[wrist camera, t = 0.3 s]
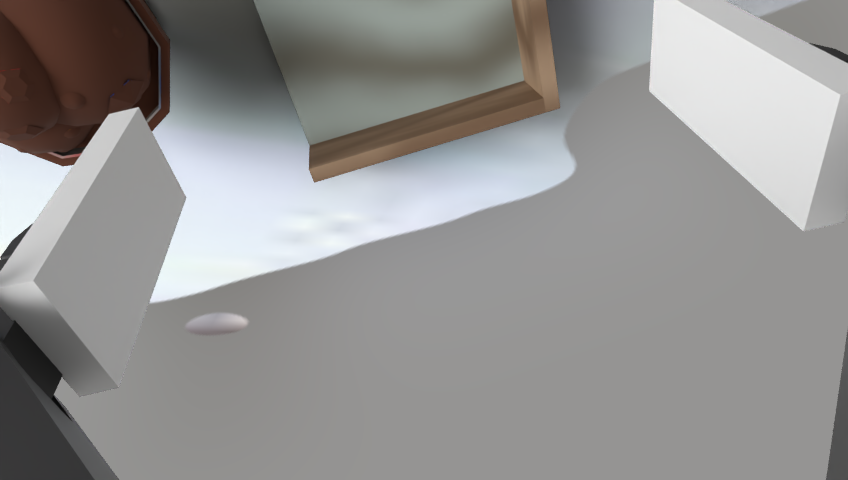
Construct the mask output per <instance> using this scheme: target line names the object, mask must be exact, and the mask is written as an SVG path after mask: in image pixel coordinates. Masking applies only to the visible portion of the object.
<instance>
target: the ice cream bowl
mask: <svg viewBox="0 0 848 480" xmlns="http://www.w3.org/2000/svg"><path fill="white" fill-rule="evenodd" d="M137 107H139V109H140V110H141V112H142V114H143V116H144V118H145V120H146V122H147V124H148V126H149V128H150V130H151V131H153V130H154V128H155V127H156V126H157V125H158V124H159V123H160V122H161V121H162V120H163V119H164V118H165V117H166V115H167V114H168V113H169V111H170V39H169V38H168V36H167V35H166V33H165V32H164V30H163V29H162V28H161V26H160V25H159V23H158V22H157V20H156V17H155V16H154V14H153V13H152V12H151V10H150V9H149V7H148V6H147V4H146V3H145V1H144V0H0V143H3V144H5V145H8V146H11V147H13V148H15V149H17V150H18V151H20V152H24V153H29V154H32V155H35V156H37V157H40V158H42V159H45V160H48V161H50V162H53V163H56V164H58V165H61V166H68V165H74V164H75V162H76V161H77V160H78V158H79V157H80V155H81V154H82V152H83V151H84V149H85V148H86V146H87V145H88V144H89V142H90V141H91V139H92V138H93V136H94V135H95V133H96V132H97V131H98V129H99V128H100V126H101V125H102V123H103V122H104V120H105V119H106V118H107V116H108V115H109V114H111V113H116V112H120V111H124V110H129V109H133V108H137Z"/></svg>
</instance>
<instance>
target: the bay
mask: <svg viewBox="0 0 848 480" xmlns="http://www.w3.org/2000/svg"><path fill="white" fill-rule="evenodd" d="M253 1H254V3H255V6H256V8H257V11H258V14H259V16H260V19H261V21H262V24H263V27H264V29H265V32H266V34H267V37H268V39H269V42H270V45H271V47H272V50H273V52H274V55H275V58H276V60H277V63H278V65H279V68H280V70H281V73H282V76H283V78H284V81H285V83H286V86H287V89H288V91H289V94H290V96H291V99H292V101H293V104H294V107H295V109H296V112H297V114H298V117H299V120H300V122H301V125H302V127H303V130H304V132H305V135H306V138H307V140H308V143H309V145H310V149H309V171H310V173H311V176H312V178H313V181H314V182H318V181H321V180H324V179H328V178H331V177H334V176H337V175H341V174H344V173H347V172H351V171H354V170H357V169H361V168H364V167H367V166H370V165H374V164H377V163H380V162H384V161H387V160H390V159H394V158H397V157H400V156H403V155H407V154H410V153H413V152H417V151H420V150H423V149H427V148H430V147H433V146H436V145H440V144H443V143H446V142H450V141H453V140H456V139H460V138H463V137H466V136H469V135H473V134H476V133H479V132H483V131H486V130H489V129H493V128H496V127H499V126H502V125H506V124H509V123H512V122H516V121H519V120H522V119H525V118H529V117H532V116H535V115H539V114H542V113H545V112H549V111H552V110H555V109H558V108H560V103H559V95H558V87H557V80H556V72H555V65H554V57H553V50H552V42H551V35H550V27H549V20H548V12H547V4H546V0H253Z"/></svg>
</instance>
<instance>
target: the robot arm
mask: <svg viewBox="0 0 848 480" xmlns="http://www.w3.org/2000/svg"><path fill="white" fill-rule="evenodd" d="M649 91H650V92H651V93H652V94H653V95H654V96H655V97H657V98H658V99H659V100H660V101H661V102H662V103H663V104H664V105H665V106H666V107H667V108H669V109H670V110H671V111H672V112H673V113H674V114H675V115H676V116H677V117H678V118H680V119H681V120H682V121H683V122H684V123H685V124H686V125H687V126H688V127H689V128H691V129H692V130H693V131H694V132H695V133H696V134H697V135H698V136H699V137H700V138H702V139H703V140H704V141H705V142H706V143H707V144H708V145H709V146H710V147H711V148H713V149H714V150H715V151H716V152H717V153H718V154H719V155H720V156H721V157H722V158H723V159H725V160H726V161H727V162H728V163H729V164H730V165H731V166H732V167H734V169H736V170H737V171H738V172H739V173H740V174H741V175H742V176H743V177H744V178H746V179H747V180H748V181H749V182H750V183H751V184H752V185H753V186H754V187H755V188H756V189H758V190H759V191H760V192H761V193H762V194H763V195H764V196H765V197H766V198H767V199H769V200H770V201H771V202H772V203H773V204H774V205H775V206H776V207H777V208H778V209H780V210H781V211H782V212H783V213H784V214H785V215H786V216H787V217H788V218H789V219H791V220H792V221H793V222H794V223H795V224H796V225H797V226H798V227H799V228H801V230H803V231H808V230H813V229H817V228H821V227H826V226H830V225H835V224H839V223H843V222H844V221H845V218H846V215H847V211H848V55H846V54H844V53H842V52H840V51H838V50H836V49H833V48H829V47H824V46H820V45H815V44H811V43H807V42H804V41H803V40H801V39H799V38H797V37H795V36H793V35H791V34H789V33H787V32H785V31H783V30H781V29H779V28H777V27H775V26H774V25H772V24H770V23H768V22H765V21H764V20H762V19H760V18H758V17H756V16H754V15H752V14H750V13H748V12H746V11H744V10H742V9H740V8H738V7H736V6H734V5H732V4H730V3H729V2H727V1H725V0H654V13H653V31H652V49H651V68H650V86H649ZM185 200H186V196H185V194H184V192H183V191H182V189H181V187H180V185H179V183H178V181H177V179H176V177H175V175H174V173H173V171H172V170H171V168H170V166H169V164H168V162H167V160H166V158H165V156H164V154H163V152H162V150H161V149H160V147H159V145H158V143H157V141H156V139H155V137H154V135H153V133H152V131H151V130H150V128H149V126H148V124H147V122H146V120H145V118H144V116H143V114H142V112H141V110H140V109H139V107H137V108H133V109H129V110H124V111H120V112H116V113H111V114H109V115H108V116H107V118H106V119H105V120H104V122H103V123H102V125H101V126H100V128H99V129H98V131H97V132H96V133H95V135H94V136H93V138H92V139H91V141H90V142H89V144H88V145H87V146H86V148H85V149H84V151H83V152H82V154H81V155H80V157H79V158H78V160H77V161H76V162H75V164H74V165H73V167H72V168H71V170H70V171H69V173H68V174H67V175H66V177H65V178H64V180H63V181H62V183H61V184H60V186H59V187H58V188H57V190H56V191H55V193H54V194H53V196H52V197H51V199H50V200H49V202H48V203H47V204H46V206H45V207H44V209H43V210H42V212H41V213H40V215H39V216H38V217H37V219H36V220H35V222H34V223H33V224H31V225H30V226H29V227H28V228H27V229H25V230H24V231H23V232H22V233H21V234H19V235H18V236H17V237H16V238H15V239H14V240H12V242H11V243H10V244H9V246H8V247H7V249H6V250H5V251H4V253H3V254H2V256H1V257H0V258H1V260H0V480H119V479H118V478H117V476H116V475H115V474H114V472H113V471H112V470H111V468H110V467H109V465H108V464H107V463H106V461H105V460H104V459H103V457H102V456H101V455H100V453H99V452H98V451H97V449H96V448H95V447H94V445H93V444H92V442H91V441H90V440H89V439H88V437H87V436H86V434H85V433H84V432H83V430H82V429H81V428H80V426H79V425H78V424H77V422H76V421H75V420H74V418H73V417H72V416H71V414H70V413H69V411H68V410H67V409H66V407H65V406H64V405H63V404H62V403H61V402H60V401H59V400H58V398H57V397H56V396H55V395H54V393H55V390H56V388H57V386H58V384H59V382H60V380H61V377H63V379H64V380H65V381H66V382H67V383H68V384H69V385H70V386H71V388H72V389H73V390H74V391H75V392H76V393H77V394H78V395H79V396H80V397H81V396H85V395H89V394H94V393H98V392H102V391H107V390H111V389H116V388H119V387H120V384H121V381H122V378H123V375H124V372H125V370H126V367H127V364H128V361H129V358H130V355H131V353H132V350H133V347H134V344H135V341H136V338H137V336H138V333H139V330H140V327H141V324H142V321H143V319H144V315H145V313H146V310H147V307H148V304H149V302H150V299H151V296H152V293H153V290H154V287H155V285H156V282H157V279H158V276H159V273H160V270H161V268H162V265H163V262H164V259H165V256H166V253H167V251H168V248H169V245H170V242H171V239H172V236H173V234H174V231H175V228H176V225H177V222H178V219H179V217H180V214H181V211H182V208H183V205H184V202H185ZM826 480H848V332H847V339H846V345H845V352H844V359H843V367H842V373H841V380H840V387H839V394H838V401H837V408H836V415H835V422H834V429H833V436H832V444H831V450H830V457H829V464H828V471H827V478H826Z"/></svg>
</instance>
